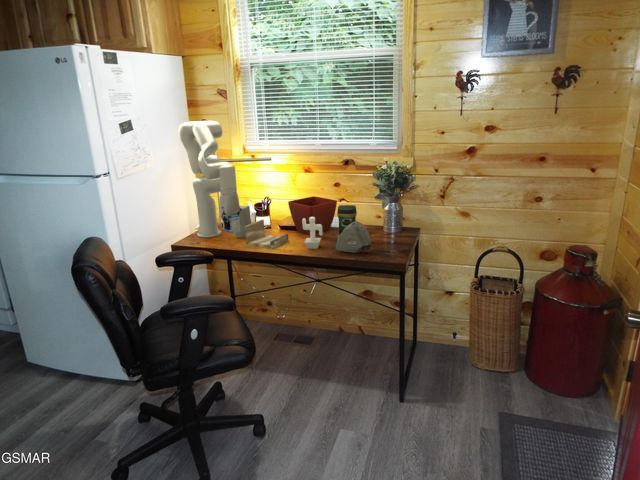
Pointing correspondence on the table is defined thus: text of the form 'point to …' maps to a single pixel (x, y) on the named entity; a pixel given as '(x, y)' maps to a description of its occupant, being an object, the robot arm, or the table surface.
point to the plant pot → (313, 212)
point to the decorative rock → (354, 238)
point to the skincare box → (244, 220)
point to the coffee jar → (346, 216)
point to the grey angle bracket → (262, 236)
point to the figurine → (312, 233)
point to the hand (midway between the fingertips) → (231, 227)
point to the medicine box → (233, 224)
